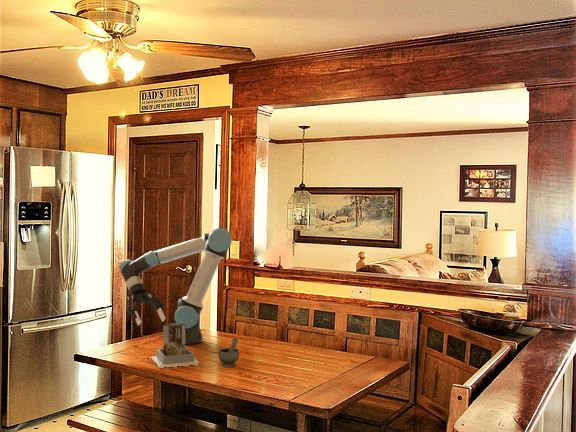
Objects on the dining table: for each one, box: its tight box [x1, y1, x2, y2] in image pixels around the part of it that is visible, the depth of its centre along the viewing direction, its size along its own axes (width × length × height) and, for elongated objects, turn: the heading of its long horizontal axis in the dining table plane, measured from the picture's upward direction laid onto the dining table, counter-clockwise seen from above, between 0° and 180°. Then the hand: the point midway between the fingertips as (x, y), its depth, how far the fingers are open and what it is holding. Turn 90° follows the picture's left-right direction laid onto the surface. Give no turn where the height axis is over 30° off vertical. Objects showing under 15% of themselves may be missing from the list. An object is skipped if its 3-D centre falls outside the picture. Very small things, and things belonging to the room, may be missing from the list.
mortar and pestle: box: [217, 337, 240, 368], centre depth 278 cm, size 11×9×12 cm
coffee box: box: [162, 322, 186, 356], centre depth 282 cm, size 9×6×16 cm
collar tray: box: [150, 346, 200, 369], centre depth 282 cm, size 18×18×5 cm
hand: (152, 321), depth 295 cm, fingers open, 13 cm apart
